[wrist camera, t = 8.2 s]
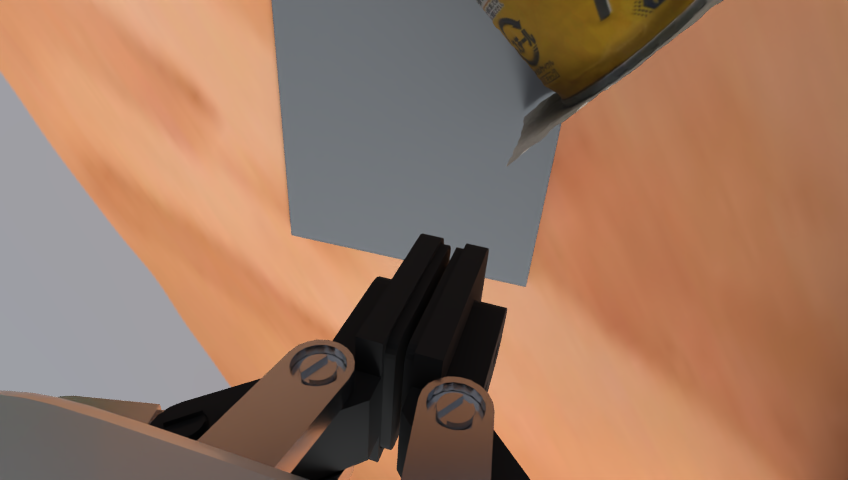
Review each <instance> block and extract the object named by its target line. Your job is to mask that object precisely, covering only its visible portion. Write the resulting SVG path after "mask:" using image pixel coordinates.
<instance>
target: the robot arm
mask: <svg viewBox="0 0 848 480" xmlns="http://www.w3.org/2000/svg"><path fill="white" fill-rule="evenodd" d="M450 253H451V246H450V245H445V244H444V238H441V237H436V236H432V235H428V234H423V233H422V234H420V236H419V237H418V239H417V240H416V242H415V244H414V245H413V247H412V248H411V250H410V251H409V253H408V255H407V256H406V258H405V259H404V261H403V262H402V264H401V266H400V267H399V269H398V270H397V272H396V273H395V275H394V277H393V278H392V279H388V278H384V277H380V276H379V277H377V278H376V279H375V280H374V281H373V282H372V284H371V285H370V287H369V288H368V290H367V291H366V293H365V294H364V296H363V297H362V298H361V300H360V301H359V303H358V304H357V306H356V307H355V309H354V310H353V312H352V313H351V315H350V316H349V318H348V319H347V320H346V322H345V323H344V325H343V326H342V328H341V329H340V331H339V332H338V334H337V335H336V337H335V338H334V339H333V341H330V340H313V341H308V342H305V343H303V344H300V345H298V346H296V347H295V348H293V349H292V350H291V351H289V352H288V353H287V354H286V355H285V356H284V357H283V358H282V359H281V360H280V361H279V362H278V363H277V364H276V365H275V366H274V367H273V368H272V369H271V370H270V371H269V372H268V373H267V374H265V375H264V376H263V377H262V378H261V379H258V380H255V381H251V382H248V383H244V384H241V385H238V386H234V387H231V388H228V389H225V390H221V391H218V392H214V393H211V394H208V395H204V396H201V397H198V398H194V399H191V400H187V401H184V402H181V403H179V404H176V405H174V406H171V407H169V408H168V409H166V410H161V407H160V405H159V404H152V403H151V404H150V403H141V402H131V401H121V400H110V399H100V398H90V397H80V396H62V397H61V396H60V397H53V396H47V395H41V394H36V393H27V392H15V391H0V480H349V479H350V477H351V475H352V473H353V471H354V465H356V464H359V463H361V462H364V461H366V460H368V459H370V460H373V461H376V462H378V461H379V458H380V456H381V454H382V452H383V449H384V448H386V449H389V450H392V448H393V447H394V445H395V442H396V440H397V438H398V435H399V442H398V459H397V471H398V473H399V475H400V477H401V480H530V479H529V477H528V476H527V474H526V473H525V472H524V470H523V469H522V468H521V466H520V465H519V464H518V462H517V461H516V459H515V458H514V457H513V455H512V454H511V453H510V451H509V450H508V449H507V447H506V446H505V445H504V443H503V442H502V440H501V439H500V438H499V436H498V435H497V434H496V432H495V431H494V430H493V429H494V405H493V401H492V399H491V398H490V396H489V394H488V393H487V392H488V389H489V385H490V382H491V378H492V374H493V371H494V367H495V363H496V359H497V355H498V351H499V347H500V342H501V338H502V333H503V328H504V323H505V318H506V313H507V308H504V307H500V306H496V305H492V304H488V303H484V302H481V297H482V291H483V285H484V279H485V273H486V267H487V261H488V254H489V248H485V247H481V246H476V245H472V244H468V243H467V244H466V245H465V247H464V249H463V248H458V247H456V249H455V251H454V253H453V255H452V257H451V259H450Z"/></svg>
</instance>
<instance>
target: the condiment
mask: <svg viewBox="0 0 848 480" xmlns="http://www.w3.org/2000/svg"><path fill="white" fill-rule="evenodd" d="M722 1H723V0H476V2H477V3H478V4H479V5H480V6H481V8H482V9H483V10H484V11H485V13H486V14H487V15H488V16H489V17H490V18H491V19H492V21H493V24H494V26H495V27H496V28H497V29H499V30H500V31H501V33H502V34H503V35H504V37H505V38H506V39H507V40H508V42H509V43H510V44H511V45H512V46H513V47H514V48H515V49H516V50H517V52H518V54H519V55H520V56H521V57H522V59H523V60H524V61H525V62H526V63H527V64H528V65H529V66H530V68H531V69H532V70H533V71H534V72H535V74H536V75H537V77H538V78H539V79H540V80H541V81H542V83H543V85H544V86H545V87H547V88H549V89H551V90H552V91H554V92H556V93H554V94H553V95H551V96H550V97H548V98H547V99H545V100H544V101H542V102H541V103H539V105H538V106H537V107H536V108H535V109H533V110H532V111H531V112H530V113H528V114H527V115H526V116H525V117H524V120H523V122H524V125H523V129H522V131H521V137H520V139H519V141H518V145H517V146H516V147H515V149H514V151H513V156H512V157H511V158H510V159H509V162H508V164H507V166H508V165H509V164H511V163H512V162H513V161H515V160H516V159H517V158H518V157H519V156H520V155H521V154H522V153H524V152H525V151H527V150H528V149H529V148H530V147H531V146H533V145H534V144H536V143H538V142H540V141H541V140H542V139H543V138H544V137H545V136H546V135H547V134H548V133H549V131H550V130H551V129H552V128H554V127H555V126H556V125H558V124H560V123H562V122H564V121H565V120H566V119H568V118H569V117H570V116H572V115H573V114H574V113H576V112H577V111H578V110H579V109H581V108H582V107H584V106H585V105H586V104H587V103H588V102H590V101H591V100H592V99H594V98H595V97H596V96H597V95H598V94H599V93H601V92H602V91H604V90H607V89H609V88H610V87H611V86H612V85H614V84H616V83H617V82H618V81H620V80H621V79H622V78H623V77H625V76H626V75H628V74H629V73H631V72H632V71H633V70H635V69H636V68H637V67H639V66H640V65H641V64H642V63H643V62H644V61H645V60H647V59H648V58H649V57H651V56H652V55H653V54H654V53H655V52H656V51H658V50H659V49H660V48H662V47H663V46H664V45H666V44H668V43H669V42H670V41H671V40H672V39H674V38H675V37H676V36H677V35H678V34H680V33H681V32H683V31H684V30H686V29H687V28H689V27H690V26H691V25H693V24H694V23H695V22H696V21H698V20H699V19H700V18H701V17H702V16H703V15H704V14H705V13H706V12H707V11H708V10H709V9H710V8H711V7H713V6H714V5H716V4H718V3H720V2H722ZM507 166H506V167H507Z"/></svg>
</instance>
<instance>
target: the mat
mask: <svg viewBox="0 0 848 480" xmlns="http://www.w3.org/2000/svg"><path fill="white" fill-rule="evenodd" d="M272 11H273V22H274V34H275V46H276V58H277V69H278V81H279V93H280V104H281V116H282V128H283V140H284V151H285V163H286V175H287V187H288V198H289V210H290V222H291V234H292V235H294V236H298V237H303V238H307V239H312V240H316V241H321V242H325V243H330V244H334V245H339V246H343V247H348V248H352V249H357V250H361V251H366V252H370V253H375V254H379V255H384V256H389V257H393V258H398V259H402V260H404V259H405V258H406V256H407V255H408V253H409V251H410V250H411V248H412V247H413V245H414V244H415V242H416V240H417V239H418V237H419V236H420V234H422V233H423V234H428V235H432V236H436V237H441V238H444V244H445V245H450V246H451V253H450V259H451V257H452V255H453V253H454V251H455V249H456V247H458V248H463V249H464V247H465V245H466V244H467V243H468V244H472V245H476V246H481V247H485V248H489V254H488V261H487V267H486V273H485V278H488V279H492V280H497V281H502V282H506V283H511V284H515V285H520V286H524V287H526V283H527V279H528V274H529V269H530V265H531V260H532V256H533V251H534V246H535V242H536V237H537V233H538V228H539V223H540V219H541V214H542V210H543V205H544V200H545V196H546V191H547V187H548V182H549V177H550V173H551V168H552V164H553V159H554V154H555V150H556V145H557V141H558V136H559V131H560V127H561V123H560V124H558V125H556V126H555V127H554V128H552V129H551V130H550V131H549V133H548V134H547V135H546V136H545V137H544V138H543V139H542V140H541V141H540V142H538V143H536V144H534V145H533V146H531V147H530V148H529V149H528V150H527V151H525V152H524V153H522V154H521V155H520V156H519V157H518V158H517V159H516V160H515V161H513V162H512V163H511V164H509V165H508V166H507V164H508V162H509V159H510V158H511V157H512V156H513V151H514V149H515V147H516V146H517V145H518V141H519V139H520V137H521V131H522V129H523V125H524V122H523V120H524V117H525V116H526V115H527V114H528V113H530V112H531V111H532V110H533V109H535V108H536V107H537V106H538V105H539V103H541V102H542V101H544V100H545V99H547V98H548V97H550V96H551V95H553V94H554V93H556V92H554V91H552V90H551V89H549V88H547V87H545V86H544V85H543V83H542V81H541V80H540V79H539V78H538V77H537V75H536V74H535V72H534V71H533V70H532V69H531V68H530V66H529V65H528V64H527V63H526V62H525V61H524V60H523V59H522V57H521V56H520V55H519V54H518V52H517V50H516V49H515V48H514V47H513V46H512V45H511V44H510V43H509V42H508V40H507V39H506V38H505V37H504V35H503V34H502V33H501V31H500V30H499V29H497V28H496V27H495V26H494V24H493V21H492V19H491V18H490V17H489V16H488V15H487V14H486V13H485V11H484V10H483V9H482V8H481V6H480V5H479V4H478V3H477V2H476V0H272ZM506 166H507V167H506Z"/></svg>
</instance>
